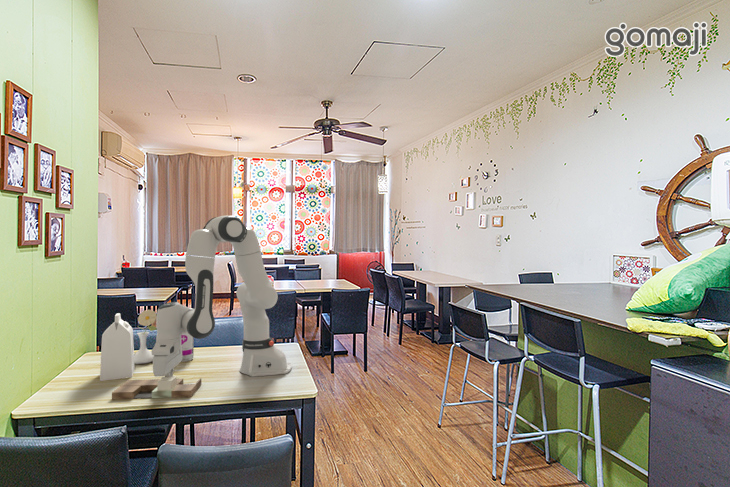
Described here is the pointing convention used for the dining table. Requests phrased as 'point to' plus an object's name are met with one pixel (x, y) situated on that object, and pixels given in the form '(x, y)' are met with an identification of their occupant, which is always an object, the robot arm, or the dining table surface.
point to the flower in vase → (144, 353)
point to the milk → (117, 351)
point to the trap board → (153, 389)
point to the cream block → (166, 383)
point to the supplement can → (187, 347)
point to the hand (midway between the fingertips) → (168, 380)
